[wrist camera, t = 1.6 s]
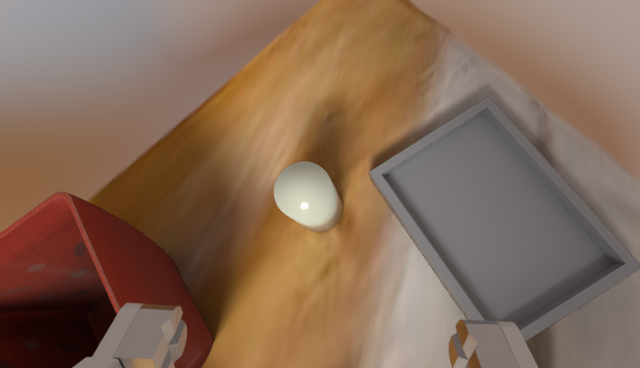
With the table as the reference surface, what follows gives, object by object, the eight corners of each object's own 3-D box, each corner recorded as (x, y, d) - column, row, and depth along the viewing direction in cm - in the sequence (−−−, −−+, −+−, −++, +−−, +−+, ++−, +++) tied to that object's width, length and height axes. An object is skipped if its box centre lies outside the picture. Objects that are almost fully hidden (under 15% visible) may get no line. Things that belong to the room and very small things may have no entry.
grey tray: (625, 267, 35) (643, 267, 33) (490, 352, 35) (498, 358, 33) (482, 106, 42) (488, 95, 39) (369, 178, 42) (368, 172, 39)
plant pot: (113, 456, 39) (-77, 584, 23) (56, 305, 45) (-128, 322, 28) (253, 354, 39) (164, 409, 23) (178, 217, 45) (65, 184, 29)
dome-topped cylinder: (352, 216, 41) (343, 197, 32) (312, 241, 41) (291, 230, 32) (327, 178, 43) (312, 150, 33) (289, 203, 43) (263, 181, 33)
